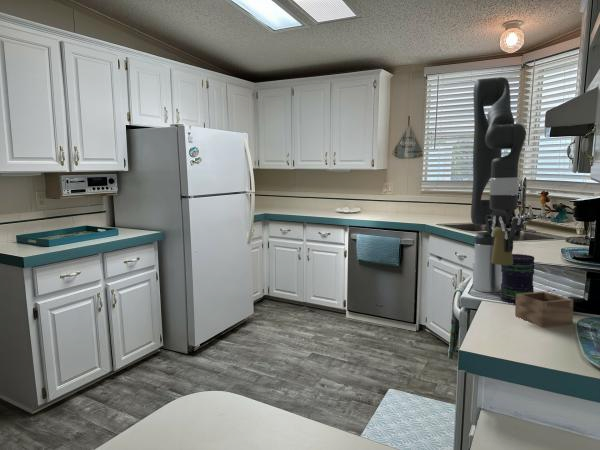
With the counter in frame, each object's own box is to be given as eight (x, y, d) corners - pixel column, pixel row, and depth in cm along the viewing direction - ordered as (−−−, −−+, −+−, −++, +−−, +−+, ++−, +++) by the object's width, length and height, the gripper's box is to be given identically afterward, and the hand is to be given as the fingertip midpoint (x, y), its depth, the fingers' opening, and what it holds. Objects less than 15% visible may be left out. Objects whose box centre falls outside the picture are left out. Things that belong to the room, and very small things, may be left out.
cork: (509, 265, 120) (510, 228, 119) (488, 263, 125) (488, 227, 124) (515, 262, 125) (516, 226, 124) (494, 260, 129) (495, 225, 128)
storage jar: (537, 305, 133) (538, 259, 131) (503, 304, 135) (504, 258, 134) (528, 297, 142) (530, 254, 141) (497, 296, 145) (498, 253, 144)
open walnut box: (515, 317, 123) (515, 293, 122) (543, 314, 125) (544, 291, 124) (542, 328, 113) (543, 303, 112) (572, 324, 115) (573, 299, 115)
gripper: (477, 193, 129) (476, 247, 131) (509, 194, 115) (508, 255, 117) (498, 192, 130) (497, 246, 132) (533, 193, 116) (531, 253, 118)
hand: (502, 250), depth 124 cm, fingers closed on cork, 4 cm apart
